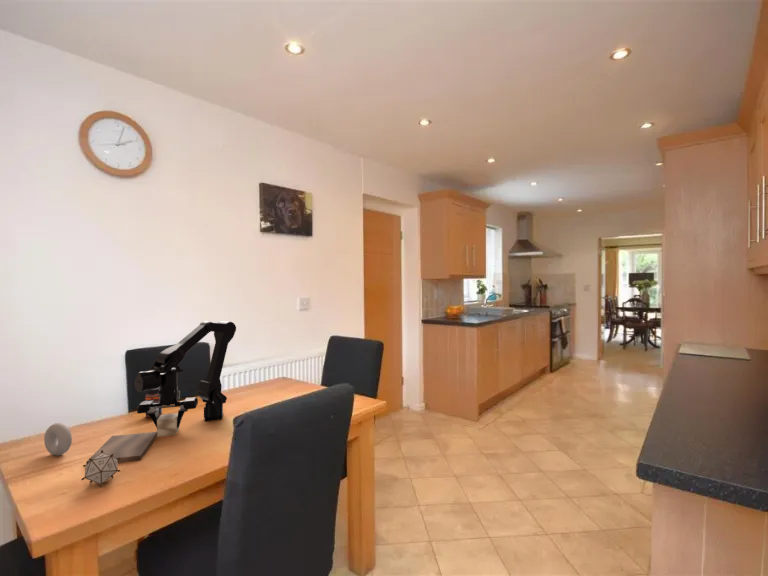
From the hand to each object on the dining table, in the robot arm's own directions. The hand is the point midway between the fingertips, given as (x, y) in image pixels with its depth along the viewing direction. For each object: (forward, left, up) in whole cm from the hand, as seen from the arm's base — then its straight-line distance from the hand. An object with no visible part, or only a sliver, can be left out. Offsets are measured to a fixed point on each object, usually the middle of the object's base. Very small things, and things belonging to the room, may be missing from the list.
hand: (168, 428), depth 138 cm
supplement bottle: (+10, -22, -2) cm, 24 cm away
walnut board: (+10, +12, -2) cm, 16 cm away
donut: (+29, +10, -2) cm, 31 cm away
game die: (+9, +34, -2) cm, 35 cm away
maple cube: (0, 0, -2) cm, 2 cm away
